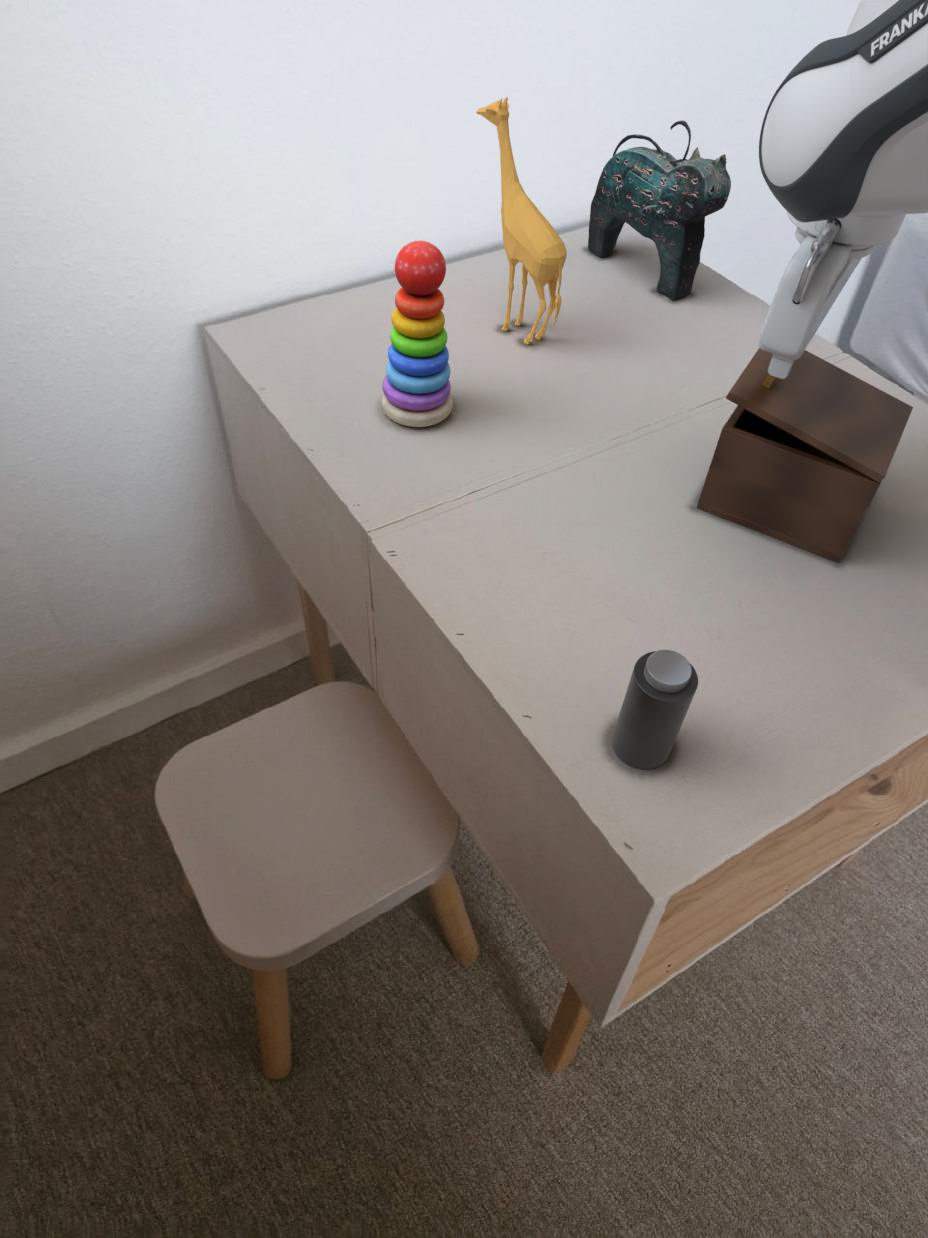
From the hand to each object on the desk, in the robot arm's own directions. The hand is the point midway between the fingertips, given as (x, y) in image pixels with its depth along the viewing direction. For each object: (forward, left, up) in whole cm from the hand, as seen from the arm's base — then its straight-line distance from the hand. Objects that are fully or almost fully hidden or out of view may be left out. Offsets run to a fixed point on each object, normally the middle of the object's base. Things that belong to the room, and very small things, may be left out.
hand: (790, 354), depth 78 cm
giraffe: (+35, -14, -16) cm, 41 cm away
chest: (-5, 0, -15) cm, 16 cm away
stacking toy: (+35, +8, -16) cm, 40 cm away
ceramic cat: (+27, -37, -16) cm, 48 cm away
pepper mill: (-4, +36, -15) cm, 39 cm away
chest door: (-4, 0, -4) cm, 6 cm away
